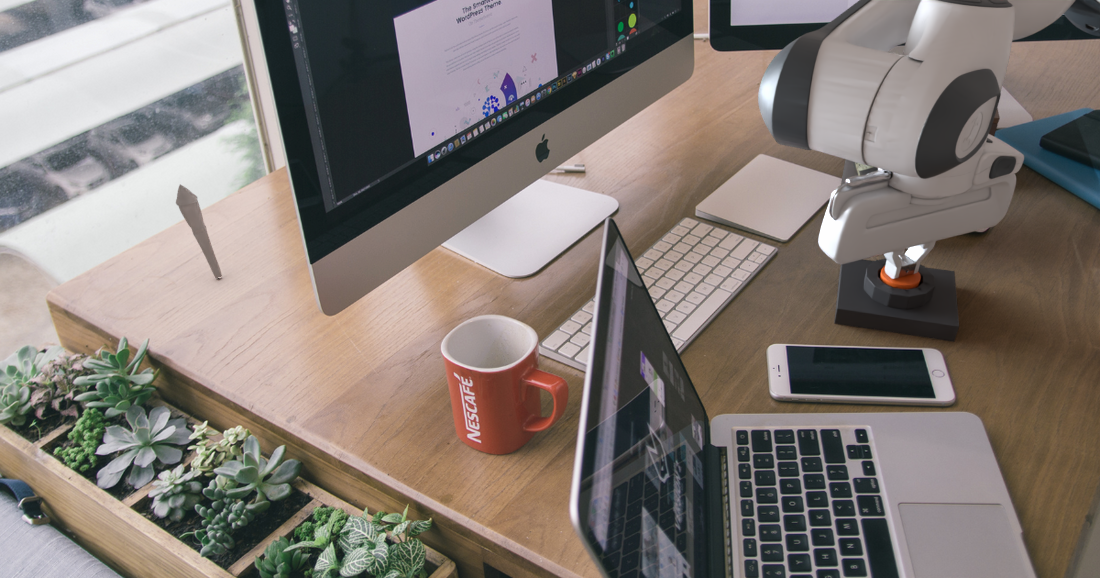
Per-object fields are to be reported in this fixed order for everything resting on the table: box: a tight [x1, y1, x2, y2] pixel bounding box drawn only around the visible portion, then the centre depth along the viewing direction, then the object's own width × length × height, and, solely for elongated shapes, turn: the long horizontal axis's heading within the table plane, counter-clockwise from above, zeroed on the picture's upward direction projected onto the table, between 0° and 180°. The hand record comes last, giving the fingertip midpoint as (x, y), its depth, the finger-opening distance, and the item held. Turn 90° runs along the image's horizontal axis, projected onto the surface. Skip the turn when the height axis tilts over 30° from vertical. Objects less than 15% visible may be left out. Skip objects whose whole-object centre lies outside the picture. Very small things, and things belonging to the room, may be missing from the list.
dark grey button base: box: [833, 258, 960, 343], centre depth 86 cm, size 12×10×4 cm
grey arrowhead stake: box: [175, 184, 223, 279], centre depth 97 cm, size 2×3×14 cm
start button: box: [880, 266, 921, 290], centre depth 85 cm, size 4×4×2 cm
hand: (900, 273), depth 84 cm, fingers closed, pressing on start button
